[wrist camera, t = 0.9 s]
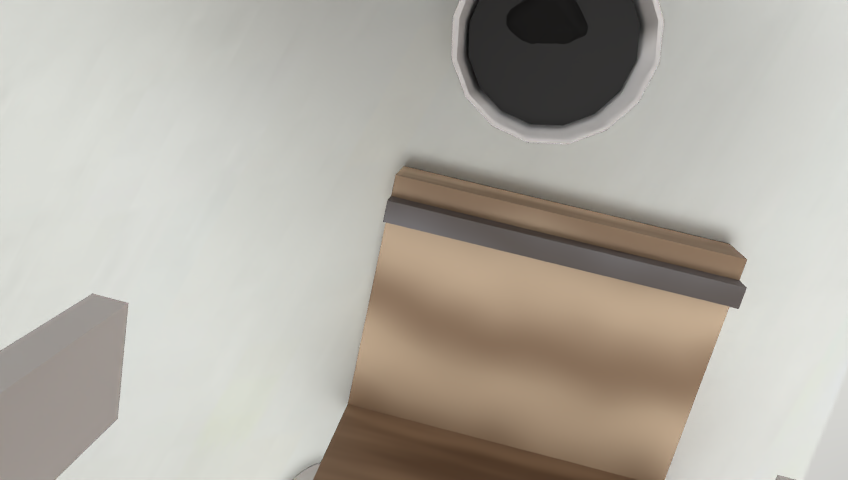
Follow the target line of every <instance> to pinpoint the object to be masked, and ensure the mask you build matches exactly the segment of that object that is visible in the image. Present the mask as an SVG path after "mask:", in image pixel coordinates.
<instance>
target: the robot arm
mask: <svg viewBox="0 0 848 480" xmlns="http://www.w3.org/2000/svg"><path fill="white" fill-rule="evenodd" d="M127 312H128V303H126V302H122V301H119V300H115V299H111V298H107V297H104V296H100V295H96V294H91V295H89V296H88V297H86V298H85V299H83V300H81V301H80V302H78V303H77V304H75V305H73V306H72V307H70V308H68V309H67V310H65V311H64V312H62V313H60V314H59V315H57V316H56V317H54V318H52V319H51V320H49V321H48V322H46V323H44V324H43V325H41V326H39V327H38V328H36V329H35V330H33V331H31V332H30V333H28V334H27V335H25V336H23V337H22V338H20V339H19V340H17V341H15V342H14V343H12V344H10V345H9V346H7V347H6V348H4V349H2V350H1V351H0V480H55V479H56V478H57V477H58V476H59V475H60V474H61V473H62V472H64V471H65V470H66V469H67V468H68V467H69V466H70V465H71V464H72V463H73V462H74V461H75V460H76V459H77V458H78V457H79V456H80V455H81V454H82V453H83V452H84V451H85V450H86V449H87V448H88V447H89V446H90V445H91V444H92V443H93V442H94V441H95V440H96V439H97V438H98V437H99V436H100V435H101V434H102V433H104V432H105V431H106V430H107V429H108V428H109V427H110V426H111V425H112V424H113V423H114V422H115V421H116V420H117V419H118V409H119V398H120V387H121V377H122V366H123V355H124V344H125V334H126V323H127ZM776 480H795V479H791V478H787V477H783V476H780V475H777V477H776Z"/></svg>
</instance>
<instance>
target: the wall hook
mask: <svg viewBox="0 0 848 480" xmlns="http://www.w3.org/2000/svg"><path fill="white" fill-rule="evenodd" d="M319 466H320V463H318V464H316V465H313V466H311V467H309V468H307V469H305V470H304V471H302V472H301V473H300V474H298V475H297V476H296V477H295V478H294V479H293V480H313V479H314V476H315V474H316V472H317V470H318V468H319Z"/></svg>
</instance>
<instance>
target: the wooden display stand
mask: <svg viewBox="0 0 848 480" xmlns="http://www.w3.org/2000/svg"><path fill="white" fill-rule="evenodd" d="M383 222H386V224H385V228H384V233H383V238H382V243H381V248H380V252H379V257H378V262H377V267H376V272H375V276H374V281H373V286H372V291H371V295H370V300H369V305H368V310H367V315H366V319H365V324H364V329H363V334H362V339H361V343H360V348H359V353H358V358H357V363H356V367H355V372H354V377H353V382H352V387H351V391H350V396H349V401H348V405H347V407H346V409H345V411H344V413H343V416H342V418H341V420H340V422H339V424H338V426H337V429H336V431H335V433H334V435H333V437H332V439H331V442H330V444H329V446H328V448H327V450H326V452H325V455H324V457H323V459H322V461H321V463H320V466H319V468H318V470H317V472H316V474H315V476H314V479H313V480H665V477H666V474H667V472H668V469H669V466H670V464H671V461H672V458H673V456H674V453H675V450H676V448H677V445H678V442H679V440H680V437H681V434H682V432H683V429H684V426H685V424H686V421H687V418H688V416H689V413H690V410H691V408H692V405H693V402H694V400H695V397H696V394H697V392H698V389H699V386H700V384H701V381H702V378H703V376H704V373H705V370H706V368H707V365H708V362H709V360H710V357H711V354H712V352H713V349H714V346H715V344H716V341H717V338H718V336H719V333H720V330H721V328H722V325H723V322H724V320H725V317H726V314H727V312H728V309H729V307H733V308H737V309H739V307H740V304H741V301H742V299H743V296H744V293H745V291H746V287H745V286H744V285H743V284H742V283H741V282H740V281H739V280H740V277H741V274H742V272H743V269H744V266H745V264H746V261H747V259H746V258H745V257H744V256H743V255H741V254H740V253H739V252H738V251H737V250H736V249H735V248H734V247H732V246H731V245H730V244H727V243H723V242H719V241H715V240H711V239H706V238H702V237H698V236H694V235H690V234H685V233H681V232H677V231H673V230H669V229H665V228H660V227H656V226H652V225H648V224H644V223H640V222H635V221H631V220H627V219H623V218H619V217H615V216H610V215H606V214H602V213H598V212H594V211H590V210H585V209H581V208H577V207H573V206H569V205H564V204H560V203H556V202H552V201H548V200H544V199H539V198H535V197H531V196H527V195H523V194H519V193H514V192H510V191H506V190H502V189H498V188H494V187H489V186H485V185H481V184H477V183H473V182H468V181H464V180H460V179H456V178H452V177H448V176H443V175H439V174H435V173H431V172H427V171H423V170H418V169H414V168H410V167H406V166H403V168H402V169H401V170H400V171H399V172H398V173H397V174H396V176H395V181H394V185H393V190H392V195H391V197H390V198H389V199H388V201H387V205H386V210H385V215H384V220H383Z"/></svg>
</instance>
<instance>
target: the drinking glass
mask: <svg viewBox="0 0 848 480" xmlns="http://www.w3.org/2000/svg"><path fill="white" fill-rule="evenodd" d="M663 27H664V18H663V14H662V11H661V8H660V4H659V1H658V0H460V1H459V3H458V5H457V8H456V10H455V12H454V15H453V25H452V57H451V59H452V62H453V64H454V67H455V70H456V73H457V75H458V78H459V81H460V84H461V86H462V89H463V92H464V95H465V97H466V98H467V99H468V100H469V101H470V103H471V104H472V105H473V106H474V107H475V108H476V109H477V110H478V111H479V112H480V114H481V115H482V116H483V117H484V118H485V119H486V120H487V121H488V122H489V123H490V124H491V126H493V127H495V128H497V129H499V130H501V131H504V132H506V133H508V134H510V135H512V136H515V137H517V138H519V139H521V140H523V141H525V142H528V143H550V144H570V143H573V142H575V141H578V140H581V139H584V138H587V137H589V136H592V135H595V134H598V133H600V132H603V131H606V130H608V129H609V128H610V127H611V126H612V125H613V124H615V123H616V122H617V121H618V120H619V119H620V118H621V117H623V116H624V115H625V114H626V113H627V112H628V111H630V110H631V109H632V108H633V107H634V106H635V105H636V104H638V103H639V101H640V99H641V98H642V96H643V94H644V92H645V90H646V88H647V86H648V84H649V82H650V81H651V79H652V77H653V75H654V73H655V71H656V69H657V67H658V65H659V63H660V54H661V45H662V36H663Z"/></svg>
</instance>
